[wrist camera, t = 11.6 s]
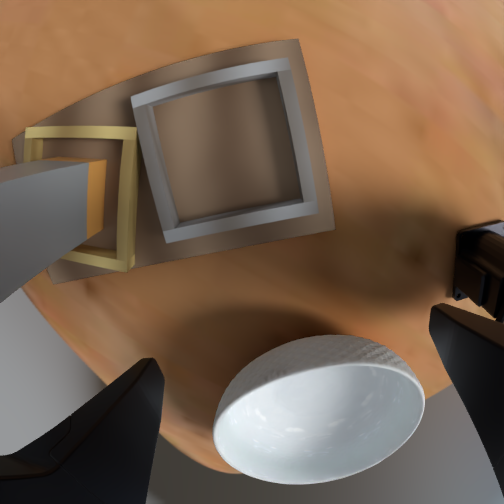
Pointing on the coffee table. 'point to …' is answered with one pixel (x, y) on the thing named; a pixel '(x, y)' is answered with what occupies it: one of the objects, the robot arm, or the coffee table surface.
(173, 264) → the coffee table surface
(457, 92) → the coffee table surface
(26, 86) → the coffee table surface
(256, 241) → the station board
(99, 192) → the grey square pillar
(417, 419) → the cereal bowl
